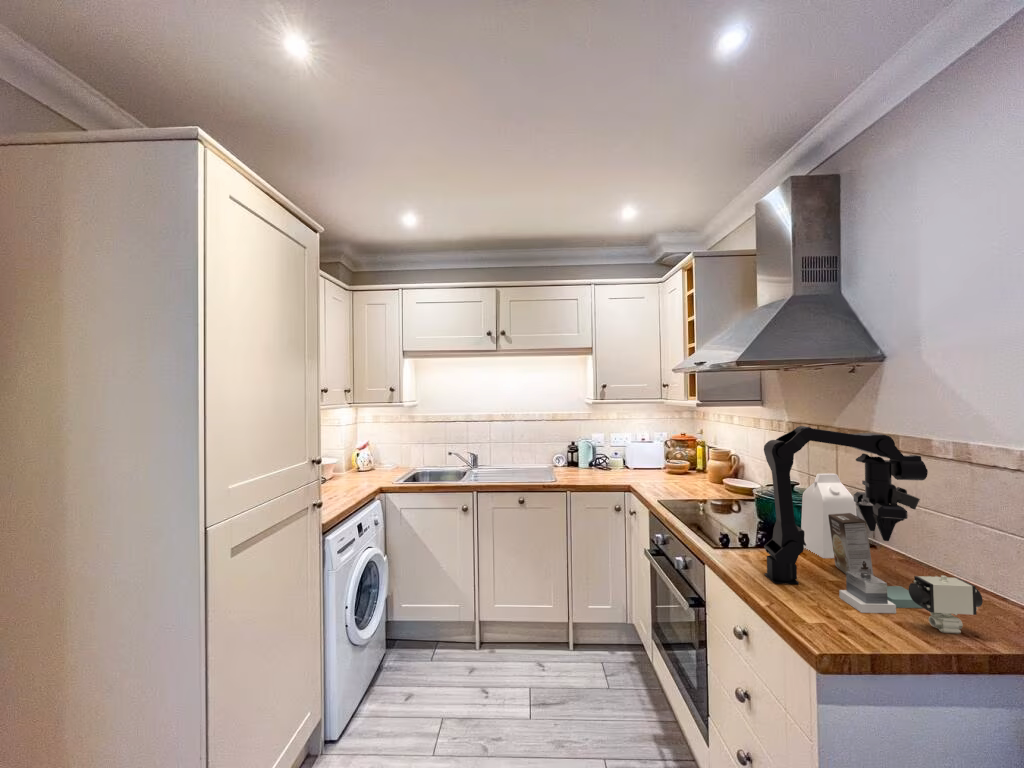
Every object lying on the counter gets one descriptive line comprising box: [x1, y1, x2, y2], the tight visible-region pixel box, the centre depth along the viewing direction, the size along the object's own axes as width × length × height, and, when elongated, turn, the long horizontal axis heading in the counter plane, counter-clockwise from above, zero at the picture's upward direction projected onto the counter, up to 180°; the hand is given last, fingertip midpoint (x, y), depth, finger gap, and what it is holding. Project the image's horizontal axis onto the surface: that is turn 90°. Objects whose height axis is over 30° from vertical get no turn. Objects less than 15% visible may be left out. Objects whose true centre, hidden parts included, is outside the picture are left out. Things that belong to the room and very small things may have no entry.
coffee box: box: [828, 513, 874, 576], centre depth 133 cm, size 9×6×16 cm
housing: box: [845, 571, 888, 604], centre depth 112 cm, size 5×7×6 cm
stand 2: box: [887, 585, 924, 609], centre depth 115 cm, size 8×8×2 cm
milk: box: [800, 473, 858, 559], centre depth 150 cm, size 12×12×26 cm
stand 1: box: [838, 589, 897, 614], centre depth 112 cm, size 8×8×2 cm
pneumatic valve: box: [908, 575, 984, 635], centre depth 101 cm, size 6×12×12 cm, turn 82°
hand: (878, 535), depth 124 cm, fingers open, 9 cm apart
